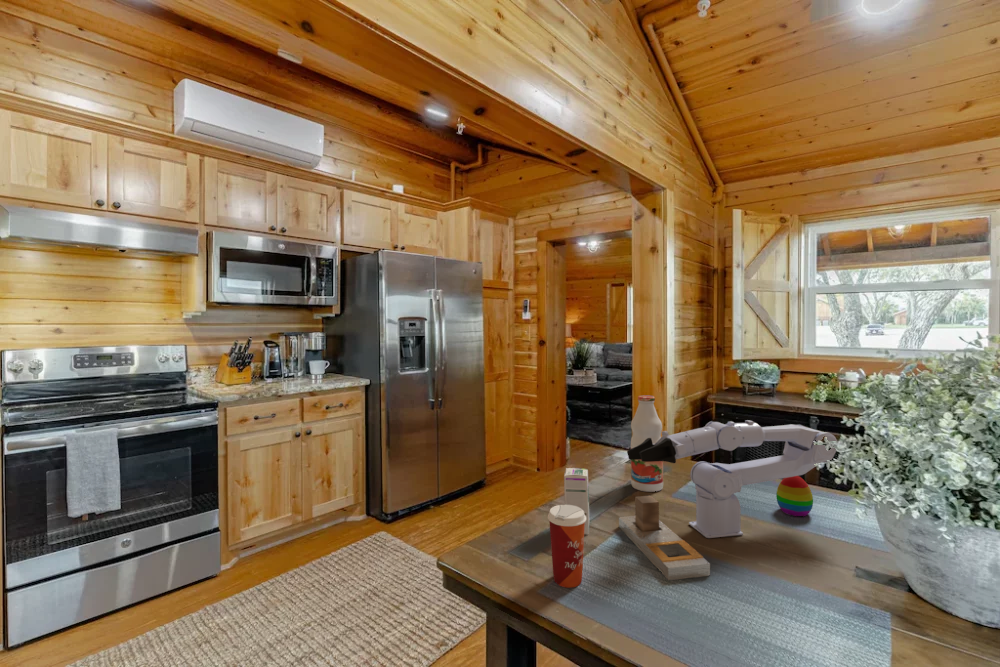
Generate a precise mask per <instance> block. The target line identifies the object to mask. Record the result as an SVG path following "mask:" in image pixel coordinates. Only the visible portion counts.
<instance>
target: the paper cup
mask: <svg viewBox="0 0 1000 667" xmlns="http://www.w3.org/2000/svg"><path fill="white" fill-rule="evenodd" d="M547 520H548V521H549V532H550V533H549V534H550V547H551V548H550V549H551V562H552V574H553V581H554V582H555V584H556V585H557V586H559V587H562V588H568V589H572V588H577V587H578V586H580V585H581V584H582V581H583V580H582V579H583V569H584V568H583V566H584V546H585V544H584V543H585V534H584V527H585V521H586V516H585V515H584V511H583V510H582V509H581V508H579V507H577V506H573V505H565V504H557V505H555V506H552V507H551V508H550V510H549V512H548V514H547Z"/></svg>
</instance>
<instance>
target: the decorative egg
mask: <svg viewBox="0 0 1000 667" xmlns="http://www.w3.org/2000/svg"><path fill="white" fill-rule="evenodd" d="M775 494H776V496H775V497H776V503H777V504H778V506H779V508H780V510H781V511H782V513H784V514H786V515H788V514H789V516H791V515H793V516H792V517H797V516H803V517H806V516H808V515H809V514H810V512H812V510H813V504H814V496H813V493H812V490H811V488H810V486H809V485H808V483H807V482H806V481H805V480H804V479H803V478H802V477H801V476H800V475H799V476H793V477H787V478H782V479H781V481H780V482H779V483H778V485H777V489H776V493H775Z"/></svg>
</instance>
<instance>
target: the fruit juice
mask: <svg viewBox="0 0 1000 667" xmlns="http://www.w3.org/2000/svg"><path fill="white" fill-rule="evenodd" d="M655 400H656V399H655V396H654V395H649V394H648V395H645V394H644V395H642V394H641V395H638V396H637V401H638V406H637V408H636V411H635V414H634V416H633V418H632V420H631V423H630V429H631V431H632V436H631V438H630V449H632V448H634V447H636V446H638V445H640V444H641V443H643V442H644V441H645V440H646V439H647V438H651V439H652V443H656V442H657V441H658V440H659V439H660V438H661V437H662V432H663V423H662V420H661V419H660V418H659V416H658V412H657V409H656V407H655V404H654V403H655V402H656V401H655ZM630 481H631V482H630V484H631V486H632V488H634V489H635V490H638V491H641V492H647V493H652V492H653V493H654V492H655V491H656V492H659V491H662V490H663V489H664V488H663V487H664V461H653V462H643V461H642V460H641V459H639V460H630Z"/></svg>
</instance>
